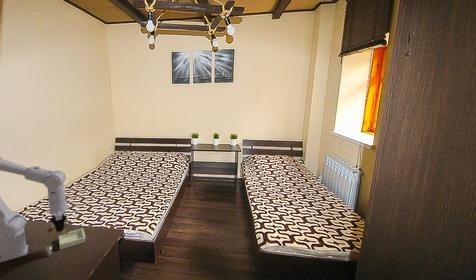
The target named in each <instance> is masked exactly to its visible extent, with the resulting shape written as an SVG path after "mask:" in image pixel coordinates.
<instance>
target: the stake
mask: <svg viewBox="0 0 476 280" xmlns="http://www.w3.org/2000/svg"><path fill="white" fill-rule="evenodd" d="M52 248H53V245H52V244H51V245H49V246H46V247H45V249H44V250H46V253H47V254H46V256H47V257H51V256H52V255H53V250H52Z"/></svg>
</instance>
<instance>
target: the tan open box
mask: <svg viewBox="0 0 476 280" xmlns="http://www.w3.org/2000/svg"><path fill="white" fill-rule="evenodd" d="M68 229H69V228H68V220H67V218H66V220H65V223H64V229H63V231H60V232H57V231H56V228H55V226H54V224H53V223H52V222H51V227H48V228H47V233H51V234H52V235H51V236H52V238H56V237H59V236H60V235H64V234H68V232H69V230H68Z"/></svg>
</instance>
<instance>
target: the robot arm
mask: <svg viewBox="0 0 476 280" xmlns="http://www.w3.org/2000/svg"><path fill="white" fill-rule="evenodd" d="M0 171H1V172H5V173H10V174H15V175H19V176H20V175H21V176H23V177H24V179H25V180H27V181H31V182H36V183H38V184H43V185H44V186H45V187H46V188H47V196H48V207H49V211H48V212H49V214H50V215H52V217H50V223H51V224H52V223H53V224H54V226H55V228H56V231H57V232H60V231H63V229H64V223H65V220H66V218H67V217H68V215H67V214H65V213H66V211H67V210H69V209H70V205H67V202H66V193H65V191H66V190H65V183H64V182H65V181H66V179H67V176H66V174H65V173H64V172H62V171H61V170H54V171H53V170H52V169H50V170H49V169H44V168H41V166H40V165H36V166H34V165H32V166H30V167H27V166H24V165H21V164H18V163H15V162H13V161H9V160H6V159H4V158H2V157H1V156H0ZM27 224H28V220H27V218H26V217H25V216H23V215H21V214H20V213H19V212H18V211H13V210H11V209H10V208H9V206H8V205H7V203H6V202H5V201H4V200H3V199H2V198H1V196H0V263H2V262H6V261H9V260H13V259H17V258H21V257H24V256H27V255H28V252H29V244H27V242H26V233H25V227H26V225H27Z"/></svg>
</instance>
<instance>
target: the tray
mask: <svg viewBox="0 0 476 280" xmlns="http://www.w3.org/2000/svg"><path fill="white" fill-rule="evenodd" d="M58 241H59V242H58V243H59V250H60V251H62V250H66V249H68V248H69V249H70V248H72V247H75V246H78V245H79V246H80V245H83V244H86V243H87V238H86V234H85V230H84V227H81V228H78V229H75V230H70V231H68V234H64V235H60V236H58Z"/></svg>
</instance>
